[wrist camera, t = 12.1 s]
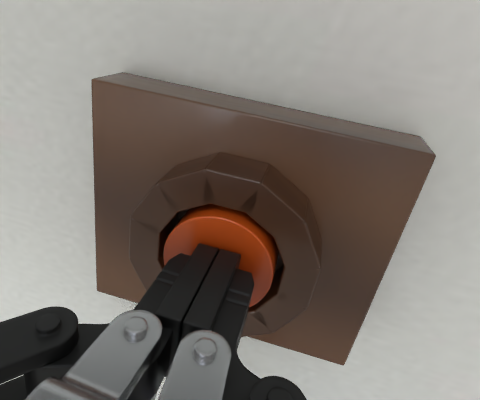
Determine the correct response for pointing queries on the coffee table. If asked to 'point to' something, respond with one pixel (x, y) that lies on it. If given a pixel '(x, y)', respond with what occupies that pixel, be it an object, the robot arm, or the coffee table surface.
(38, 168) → the coffee table surface
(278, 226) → the switch
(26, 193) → the coffee table surface
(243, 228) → the button
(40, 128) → the coffee table surface
